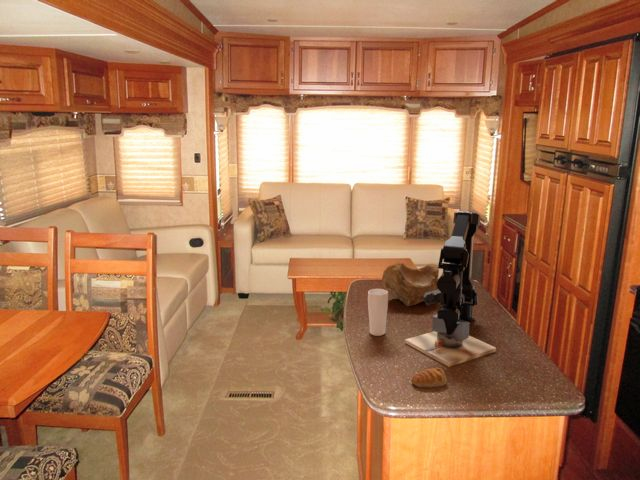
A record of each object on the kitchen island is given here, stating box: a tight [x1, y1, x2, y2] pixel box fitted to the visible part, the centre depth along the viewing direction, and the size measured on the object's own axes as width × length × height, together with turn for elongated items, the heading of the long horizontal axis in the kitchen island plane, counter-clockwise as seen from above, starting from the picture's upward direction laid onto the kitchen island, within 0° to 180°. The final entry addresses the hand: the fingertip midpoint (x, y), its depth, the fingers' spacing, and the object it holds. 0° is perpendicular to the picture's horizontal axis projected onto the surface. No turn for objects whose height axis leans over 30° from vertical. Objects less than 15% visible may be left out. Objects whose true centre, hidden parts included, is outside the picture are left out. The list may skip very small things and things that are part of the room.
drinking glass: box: [367, 288, 389, 337], centre depth 178 cm, size 7×7×15 cm
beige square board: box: [404, 331, 497, 368], centre depth 169 cm, size 20×20×1 cm
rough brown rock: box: [381, 261, 440, 307], centre depth 209 cm, size 23×17×15 cm
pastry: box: [411, 366, 448, 388], centre depth 147 cm, size 9×7×4 cm
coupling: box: [431, 314, 471, 348], centre depth 167 cm, size 11×11×8 cm
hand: (450, 331), depth 168 cm, fingers closed on coupling, 6 cm apart
